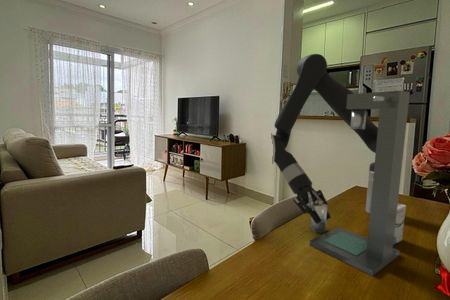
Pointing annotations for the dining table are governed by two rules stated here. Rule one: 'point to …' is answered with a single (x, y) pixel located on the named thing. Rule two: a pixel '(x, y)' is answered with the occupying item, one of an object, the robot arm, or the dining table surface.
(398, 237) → the ink box
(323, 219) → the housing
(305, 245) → the dining table surface
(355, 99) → the press
